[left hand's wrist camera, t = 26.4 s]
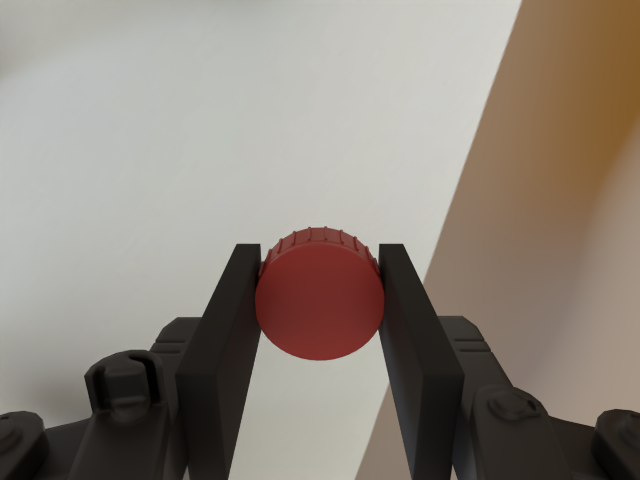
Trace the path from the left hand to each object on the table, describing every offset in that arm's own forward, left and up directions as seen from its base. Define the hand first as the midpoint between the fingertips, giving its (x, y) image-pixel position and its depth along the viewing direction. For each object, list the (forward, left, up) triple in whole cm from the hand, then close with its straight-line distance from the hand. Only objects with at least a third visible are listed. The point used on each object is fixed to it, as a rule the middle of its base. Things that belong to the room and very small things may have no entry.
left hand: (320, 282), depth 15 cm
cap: (0, 0, +1) cm, 1 cm away
